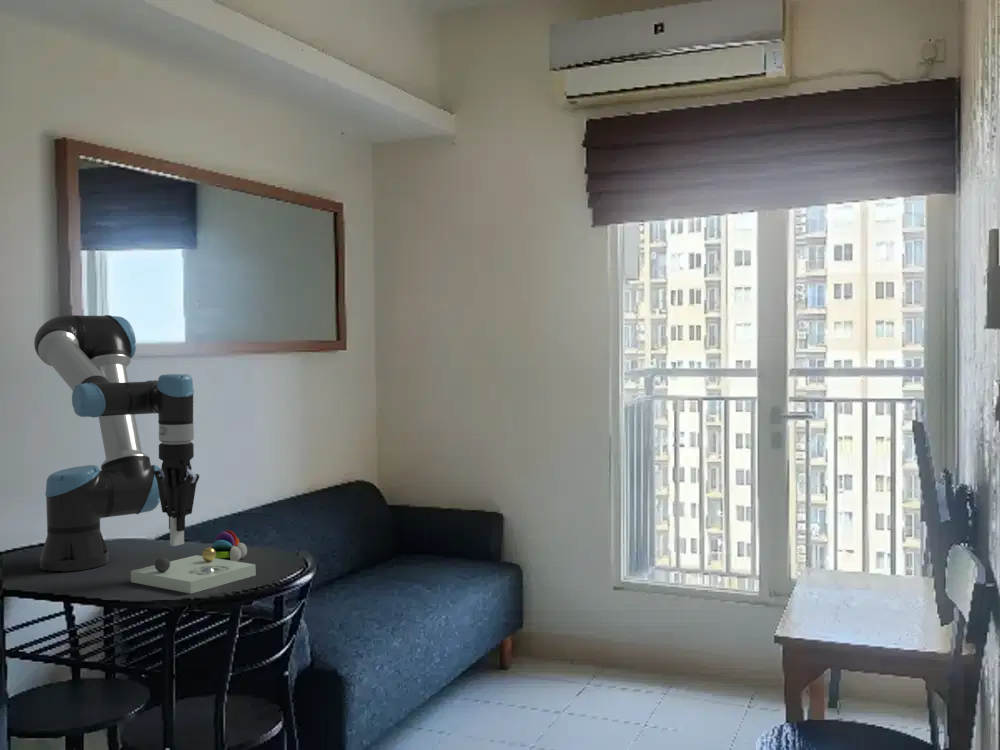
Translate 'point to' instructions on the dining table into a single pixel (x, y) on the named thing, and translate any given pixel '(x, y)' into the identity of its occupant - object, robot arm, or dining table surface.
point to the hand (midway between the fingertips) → (177, 544)
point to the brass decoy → (208, 554)
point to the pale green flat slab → (193, 574)
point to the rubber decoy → (162, 564)
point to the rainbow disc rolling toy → (229, 546)
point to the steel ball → (208, 570)
